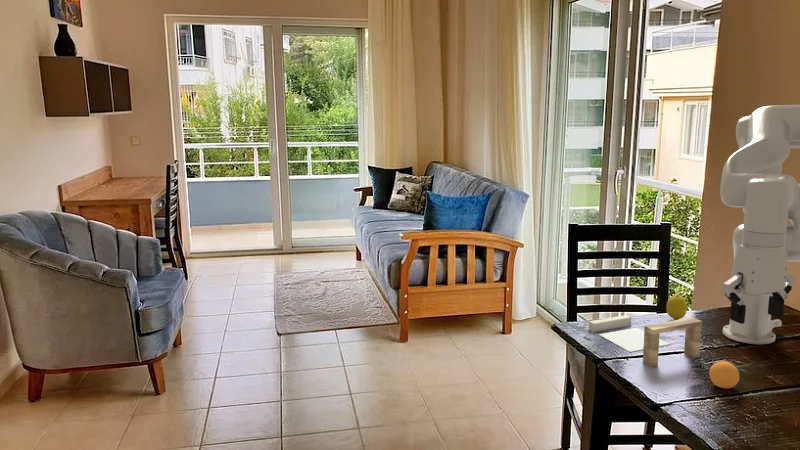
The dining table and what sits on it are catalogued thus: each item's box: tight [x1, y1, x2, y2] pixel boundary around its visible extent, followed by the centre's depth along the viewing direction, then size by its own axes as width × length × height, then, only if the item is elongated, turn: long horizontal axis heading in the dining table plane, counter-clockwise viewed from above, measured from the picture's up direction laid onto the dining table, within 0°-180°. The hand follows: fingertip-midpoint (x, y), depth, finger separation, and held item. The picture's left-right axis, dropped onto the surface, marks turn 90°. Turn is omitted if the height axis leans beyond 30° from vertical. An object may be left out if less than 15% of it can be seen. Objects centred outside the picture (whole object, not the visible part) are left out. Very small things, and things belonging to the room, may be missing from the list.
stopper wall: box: [588, 314, 632, 333], centre depth 172 cm, size 13×2×2 cm, turn 108°
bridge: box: [642, 316, 703, 368], centre depth 149 cm, size 3×15×10 cm, turn 108°
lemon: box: [665, 294, 688, 321], centre depth 175 cm, size 6×6×8 cm
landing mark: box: [598, 327, 671, 353], centre depth 163 cm, size 13×13×1 cm
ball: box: [708, 360, 740, 389], centre depth 134 cm, size 6×6×6 cm
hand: (756, 318), depth 123 cm, fingers open, 9 cm apart
